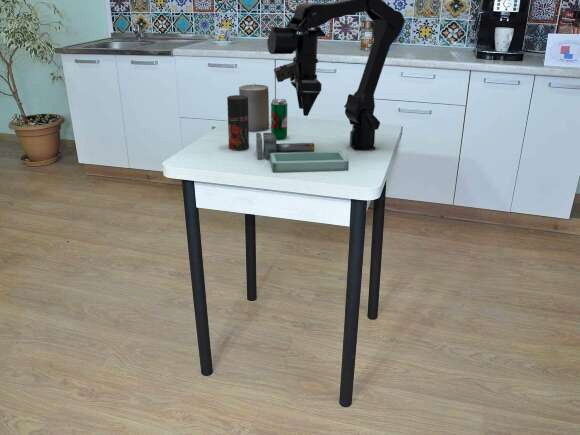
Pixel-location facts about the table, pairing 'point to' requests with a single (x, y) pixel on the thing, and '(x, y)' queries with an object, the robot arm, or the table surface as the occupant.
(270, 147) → the clevis
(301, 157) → the tray
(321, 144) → the table surface
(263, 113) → the pillar candle
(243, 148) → the deodorant
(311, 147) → the dark grey cylinder
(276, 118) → the soda can
